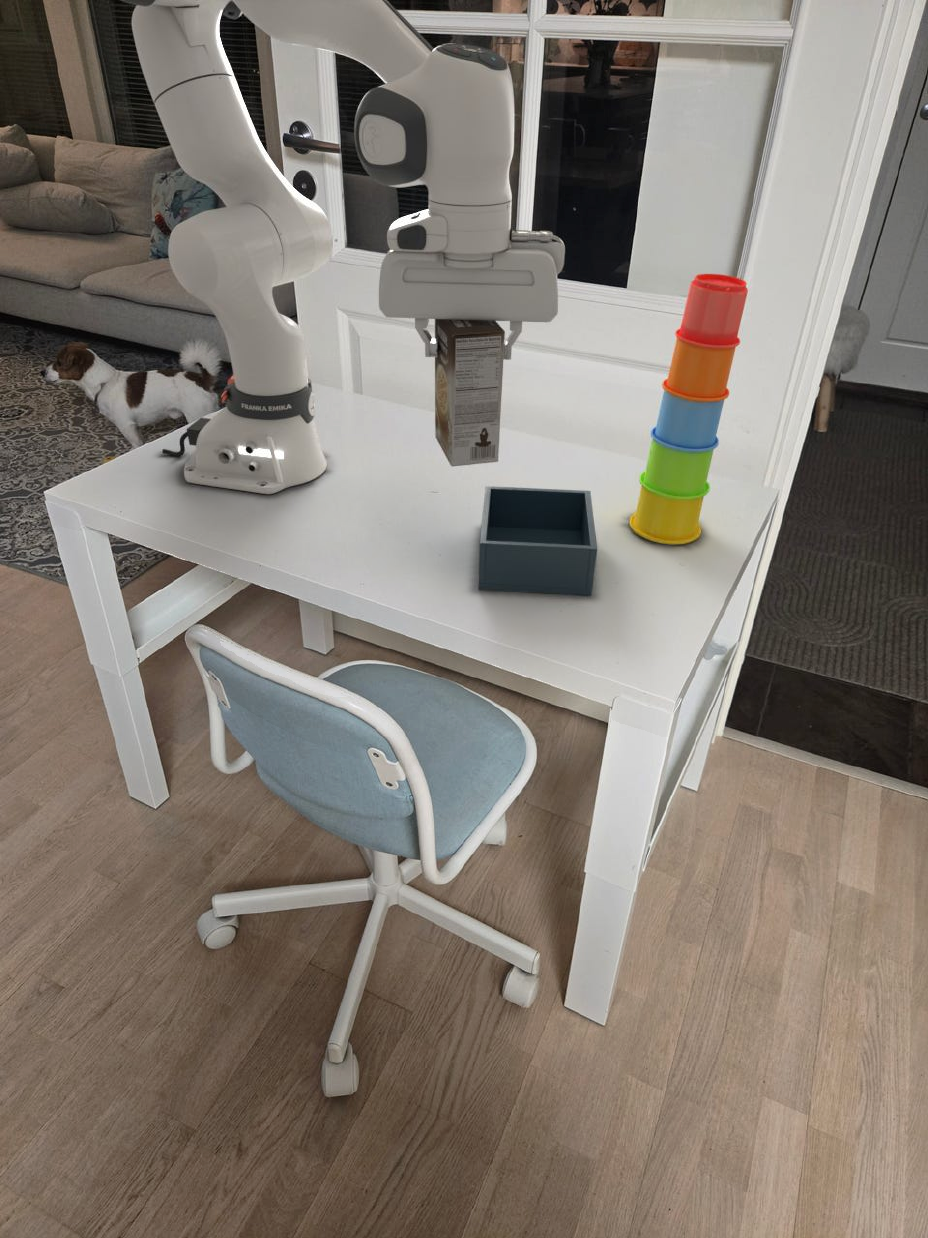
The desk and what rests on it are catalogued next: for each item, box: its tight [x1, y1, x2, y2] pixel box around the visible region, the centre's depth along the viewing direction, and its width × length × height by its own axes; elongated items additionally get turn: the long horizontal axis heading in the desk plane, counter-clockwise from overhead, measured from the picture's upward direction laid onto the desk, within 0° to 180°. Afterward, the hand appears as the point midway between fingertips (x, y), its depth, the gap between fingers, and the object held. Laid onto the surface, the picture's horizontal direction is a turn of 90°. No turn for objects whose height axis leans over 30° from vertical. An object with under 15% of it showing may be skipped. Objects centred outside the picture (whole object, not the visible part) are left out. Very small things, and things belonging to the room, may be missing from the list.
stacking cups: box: [629, 273, 749, 546], centre depth 109 cm, size 10×10×35 cm
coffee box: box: [434, 319, 506, 467], centre depth 98 cm, size 9×6×16 cm
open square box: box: [477, 485, 598, 596], centre depth 110 cm, size 15×16×7 cm
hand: (468, 356), depth 96 cm, fingers closed on coffee box, 7 cm apart
